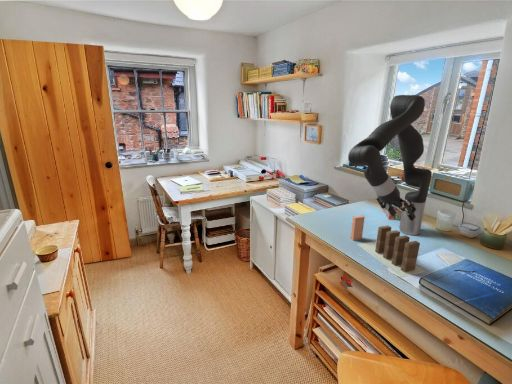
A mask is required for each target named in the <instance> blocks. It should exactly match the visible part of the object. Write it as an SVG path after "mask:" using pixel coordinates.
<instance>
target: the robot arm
mask: <svg viewBox="0 0 512 384" xmlns="http://www.w3.org/2000/svg"><path fill="white" fill-rule="evenodd" d="M425 101H426V100H425V99H424V97H423V96H422V95H417V94H414V95H413V94H397V95H395V96H394V97H393V98H392V99H391V102H390V106H389V109H390V116H391V119H389V120H387V121H385V122H383V123H381V124H380V125H378V126H377V127H375V128H374V130H373V131H371V133H370V134H369V135H368V136H367V137H366V138H364V139H363V140H360V141H359V142H358V143H357V144H355V145H354V146H353V147H352V148H351V149H350V150H349V152H348V156H347V160H348V162H349V163H350V165H352V166H354V167H366V168H365V169H364V171H363V174H364V175H363V176H364V177H365V179H366V180H367V182H368V183H369V185H370V187H371V189H372V191H373V192H374V194H375V196H376V197H377V198H376V199H375V200H376V202H377V203H378V205H379V206H380V208H381V209H382V208H383V209H384V208H385V209H386V210H388V211H389V213H390V214H391V216H395V214H396V211H395V210H394V208H397V209H398V210H400V211H401V218H400V220H399V227H398V229H399V232H400V233H403V234H405V235H407V236H408V235H409V236H418V235H420V234H421V228H422V223H423V219H424V212H425V208H426V201H427V197H428V194H429V189H430V186H431V181H432V177H433V175H432V170H430V169H428V168H420V167H416V166H414V165H415V163H417V161H418V160H419V159H420V158H421V157H422V155H423V154H424V151H425V145H424V140H423V136H422V134H420V132H419V131H418V130H417V129H416V128H415V127H414V126H413V125H412V124H413V123H414V122H416V121H418V119H419V118H420V117H421V116H422V114H423V113H424V110H425V106H426V102H425ZM396 136H397V140H398V146H399V152H400V156H401V160H402V166H403V177H404V182H405V184H406V185H407V186H411V187H415V188H418V190H414V191H409V192H406V193H405V194H404V195H405V196H404V199H403V198H402V197H401V193H400V192H401V191H400V190H399V188H398V187H397V184H395V182H394V180H393V179H392V178H391V176H390V175H389V174H388V172H387V171H386V169H385V168H384V165H383V161H382V156H381V153H380V152H381V151H383V150H384V149H385V148H386V147H387V145H389V143H390V142H391V141H392V140H393V139H394V138H395V137H396ZM383 203H384V204H383ZM402 204H403V206H402ZM401 206H402V208H401Z"/></svg>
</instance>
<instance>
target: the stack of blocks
mask: <svg viewBox="0 0 512 384" xmlns="http://www.w3.org/2000/svg"><path fill="white" fill-rule="evenodd" d="M383 204H384V203H383ZM403 207H404V205H403V204H402V206H401V208H403ZM381 210H382V212H383V213H384V215H385V216H386V218H387V220H388V221H389V220H391V221H400V220H401V214H402V212H401V211H400V210H398V209H397V208H394V210H395V211H396V214H395V216H391V214H390V213H389V211H388V210H386V209H385V208H384V209H383V208H381Z"/></svg>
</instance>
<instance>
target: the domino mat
mask: <svg viewBox="0 0 512 384" xmlns="http://www.w3.org/2000/svg"><path fill="white" fill-rule="evenodd" d="M376 242H377V240H375V241H368V242H363V243H357V246H358V247H360V248H361V249H363V250H364V251H366V252H367V253H368V254H369V255H370V256H372V257H374V258H375V259H376V260H377V261H379V262H380V263H381V264H383V265H384V266H385V267H387V268H388V269H390V270H391V271H392V272H394V273H395V274H396V275H398V276H399V277H400V278H404V277H408V276H411V275H416V274H420V273H421V274H422V273H426V271H425V270H424V269H423V268H422V267H419V266H418V265H417V264H416V267H415V270H414V271H409V272H403V271H402V270H401V265H402V264H401V265H396V266H395V265H393V264H392V259H385V258H384V257H383V254H384V253H379V254H378V253H377V252H375V249H376Z"/></svg>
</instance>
